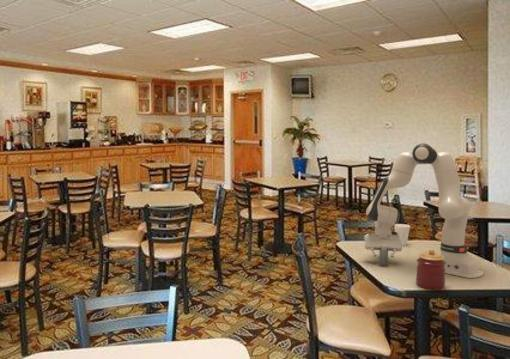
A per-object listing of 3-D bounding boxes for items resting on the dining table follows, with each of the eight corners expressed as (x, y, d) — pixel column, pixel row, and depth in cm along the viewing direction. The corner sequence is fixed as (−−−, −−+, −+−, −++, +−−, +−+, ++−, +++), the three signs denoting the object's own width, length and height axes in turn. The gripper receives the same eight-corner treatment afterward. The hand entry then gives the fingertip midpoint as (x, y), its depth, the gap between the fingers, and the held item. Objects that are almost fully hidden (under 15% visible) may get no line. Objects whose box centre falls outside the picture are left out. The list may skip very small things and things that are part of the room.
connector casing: (387, 267, 238) (388, 247, 236) (379, 266, 239) (380, 246, 237) (386, 263, 244) (387, 244, 243) (378, 262, 245) (379, 243, 244)
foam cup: (390, 244, 287) (391, 225, 285) (399, 242, 292) (400, 223, 291) (403, 247, 279) (404, 227, 278) (411, 245, 285) (412, 225, 283)
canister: (409, 282, 213) (411, 247, 211) (430, 279, 217) (432, 245, 216) (429, 291, 201) (430, 254, 199) (450, 288, 205) (452, 251, 204)
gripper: (364, 231, 249) (364, 252, 240) (401, 233, 244) (403, 254, 236) (363, 237, 253) (364, 258, 245) (400, 239, 249) (402, 260, 241)
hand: (383, 256), depth 240 cm, fingers open, 8 cm apart
